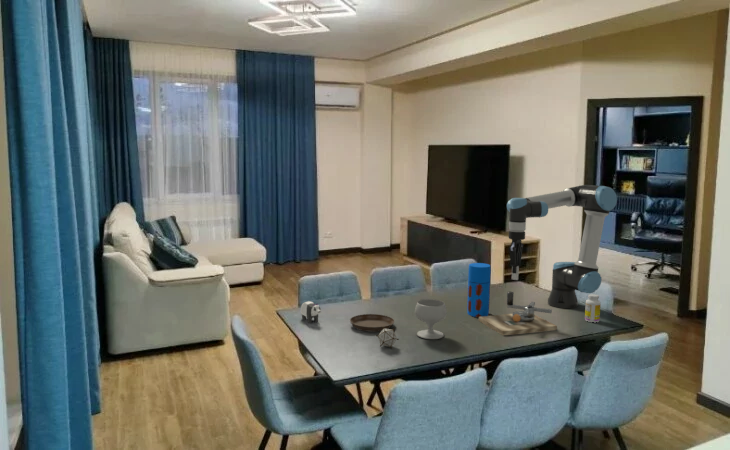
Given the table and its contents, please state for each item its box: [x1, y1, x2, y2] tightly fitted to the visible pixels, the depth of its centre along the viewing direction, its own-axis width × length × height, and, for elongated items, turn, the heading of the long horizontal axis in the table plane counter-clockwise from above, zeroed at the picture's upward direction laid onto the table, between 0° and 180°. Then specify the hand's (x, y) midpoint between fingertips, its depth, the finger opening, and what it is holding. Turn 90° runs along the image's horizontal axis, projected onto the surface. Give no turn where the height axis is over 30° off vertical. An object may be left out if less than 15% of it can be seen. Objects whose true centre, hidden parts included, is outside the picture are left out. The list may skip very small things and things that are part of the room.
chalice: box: [414, 298, 448, 340], centre depth 242 cm, size 14×14×15 cm
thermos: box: [466, 262, 492, 318], centre depth 274 cm, size 11×11×25 cm
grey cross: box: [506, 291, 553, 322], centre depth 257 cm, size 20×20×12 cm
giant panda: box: [300, 301, 322, 324], centre depth 261 cm, size 15×6×10 cm, turn 33°
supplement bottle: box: [584, 293, 602, 324], centre depth 265 cm, size 7×7×13 cm
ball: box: [513, 314, 521, 322], centre depth 255 cm, size 4×4×4 cm
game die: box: [375, 327, 399, 350], centre depth 229 cm, size 9×8×10 cm
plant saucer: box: [349, 313, 395, 333], centre depth 255 cm, size 21×21×3 cm
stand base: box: [478, 313, 558, 336], centre depth 258 cm, size 28×22×2 cm
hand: (514, 279), depth 263 cm, fingers closed
